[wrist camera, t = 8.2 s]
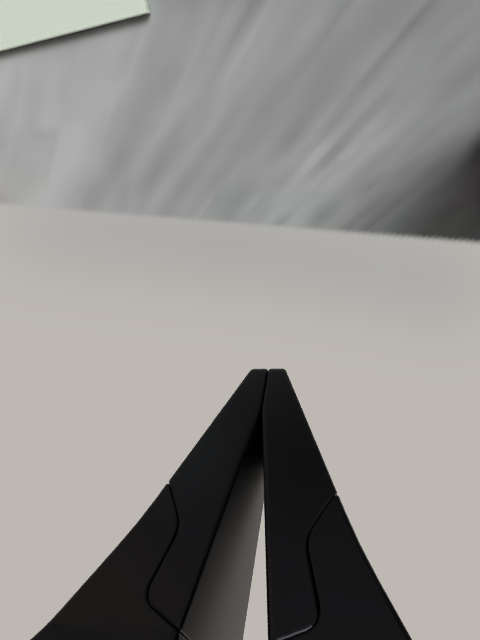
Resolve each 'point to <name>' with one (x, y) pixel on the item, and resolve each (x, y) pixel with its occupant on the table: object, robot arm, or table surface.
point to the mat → (59, 18)
